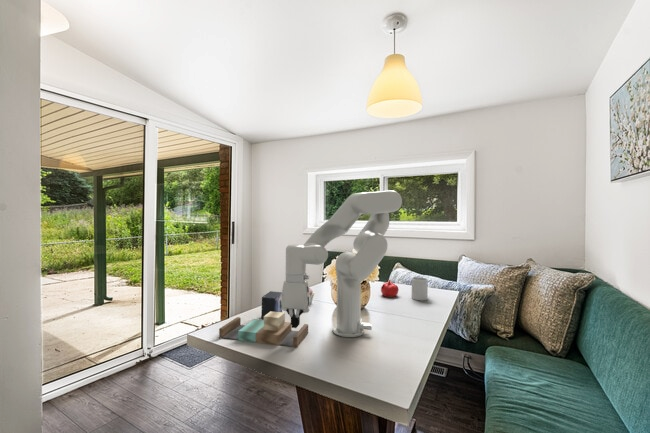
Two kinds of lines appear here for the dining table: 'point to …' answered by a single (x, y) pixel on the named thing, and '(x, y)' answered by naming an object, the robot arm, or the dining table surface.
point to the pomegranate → (389, 289)
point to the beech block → (274, 321)
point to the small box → (271, 303)
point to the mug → (419, 288)
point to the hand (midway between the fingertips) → (295, 326)
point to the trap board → (262, 333)
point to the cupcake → (311, 295)
